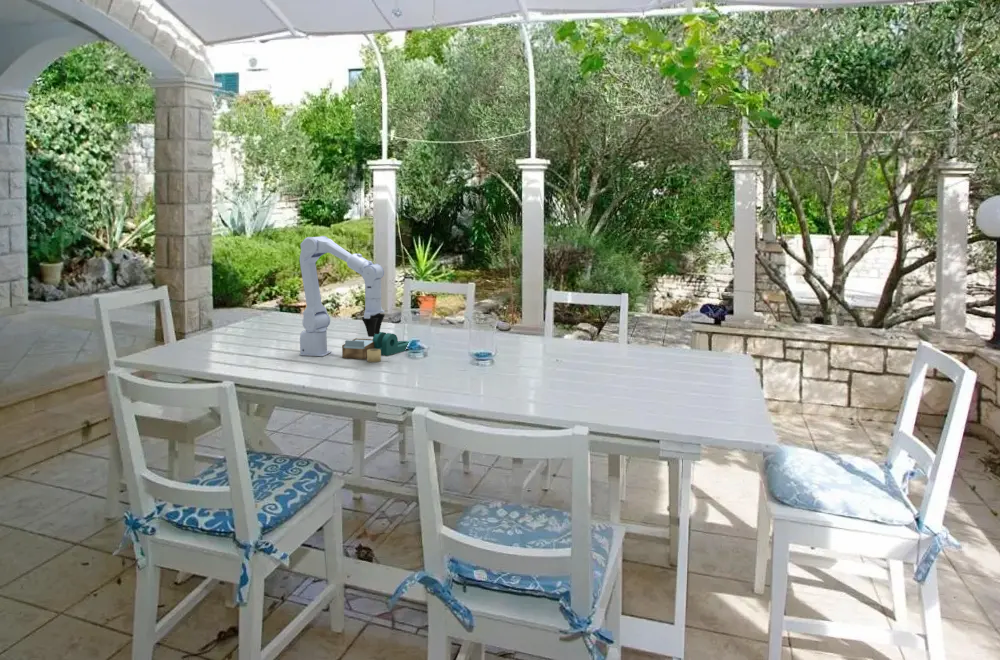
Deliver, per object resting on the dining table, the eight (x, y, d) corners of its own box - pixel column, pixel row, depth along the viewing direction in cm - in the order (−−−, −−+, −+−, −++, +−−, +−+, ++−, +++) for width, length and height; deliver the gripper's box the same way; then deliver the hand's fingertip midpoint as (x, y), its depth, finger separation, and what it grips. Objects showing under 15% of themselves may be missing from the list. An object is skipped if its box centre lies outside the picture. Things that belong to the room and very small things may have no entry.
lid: (343, 347, 273) (343, 340, 273) (356, 341, 286) (356, 334, 285) (364, 349, 272) (364, 341, 271) (375, 342, 284) (375, 335, 284)
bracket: (386, 355, 279) (386, 335, 277) (372, 353, 282) (372, 333, 280) (415, 348, 294) (415, 328, 293) (401, 345, 297) (401, 326, 296)
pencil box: (342, 358, 274) (342, 345, 273) (355, 350, 287) (355, 338, 287) (365, 359, 272) (365, 346, 272) (378, 351, 286) (378, 339, 285)
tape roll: (365, 361, 269) (364, 350, 268) (369, 358, 274) (369, 347, 273) (378, 362, 268) (378, 351, 267) (382, 359, 273) (382, 348, 272)
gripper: (377, 301, 259) (377, 339, 261) (390, 295, 273) (390, 332, 276) (358, 300, 260) (358, 338, 263) (371, 295, 274) (372, 331, 277)
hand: (373, 335), depth 269 cm, fingers open, 5 cm apart
